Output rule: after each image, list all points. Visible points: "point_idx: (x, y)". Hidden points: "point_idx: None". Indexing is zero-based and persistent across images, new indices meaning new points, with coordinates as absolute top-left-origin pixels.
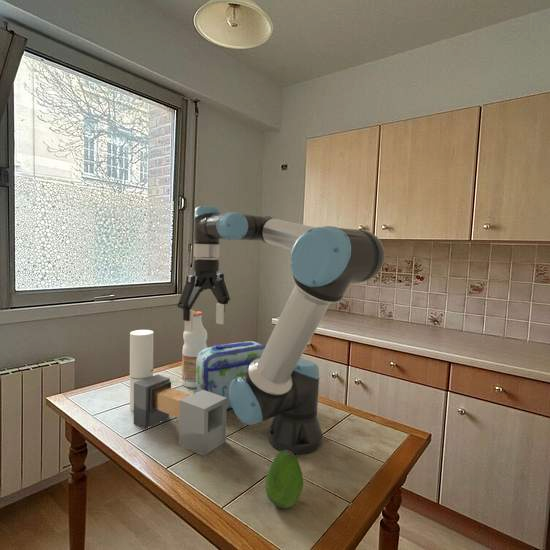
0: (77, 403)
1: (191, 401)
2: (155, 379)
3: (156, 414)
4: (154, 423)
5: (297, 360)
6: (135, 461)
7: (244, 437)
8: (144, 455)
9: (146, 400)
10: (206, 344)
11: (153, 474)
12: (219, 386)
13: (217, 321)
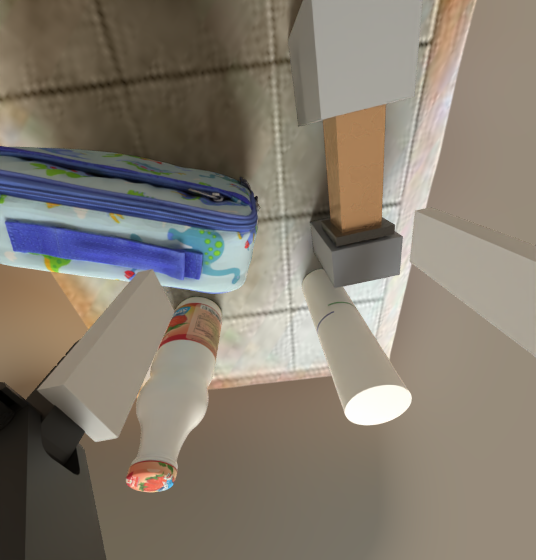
0: None
1: (403, 55)
2: (357, 265)
3: None
4: None
5: None
6: (441, 115)
7: (242, 20)
8: (420, 123)
9: None
10: (152, 369)
11: (457, 41)
12: (221, 181)
13: (165, 309)
